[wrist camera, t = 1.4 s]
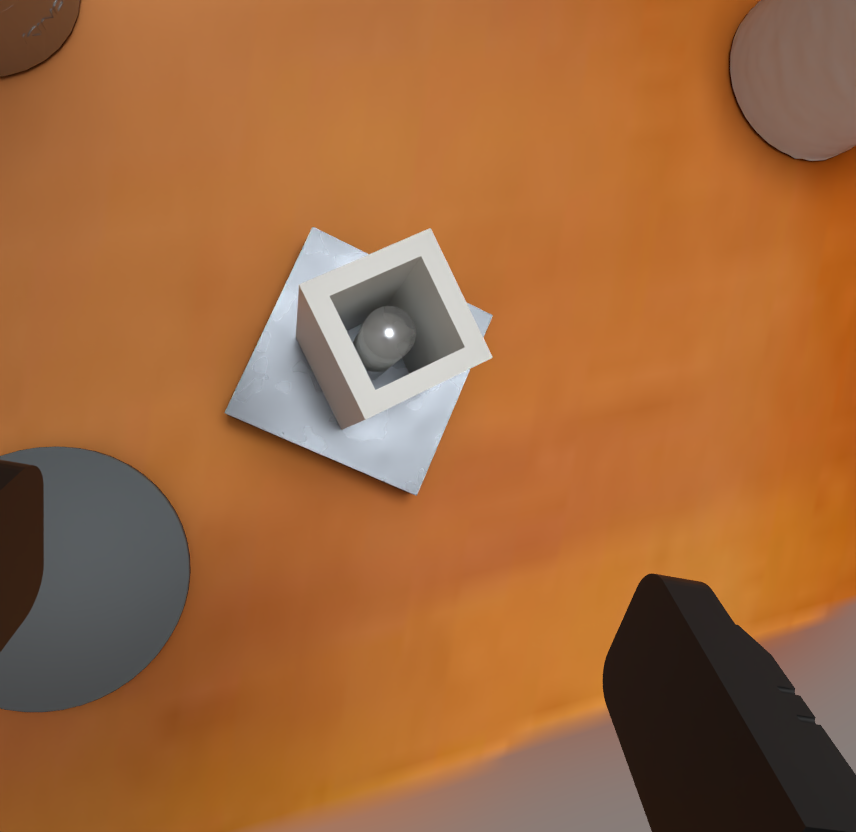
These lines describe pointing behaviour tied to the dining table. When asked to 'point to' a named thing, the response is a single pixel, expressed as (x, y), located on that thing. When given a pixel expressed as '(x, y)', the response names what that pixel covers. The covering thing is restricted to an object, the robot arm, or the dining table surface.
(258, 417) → the post stand
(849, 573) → the dining table surface
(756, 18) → the toilet tissue
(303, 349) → the sleeve
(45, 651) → the mat
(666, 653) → the robot arm
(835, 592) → the dining table surface
